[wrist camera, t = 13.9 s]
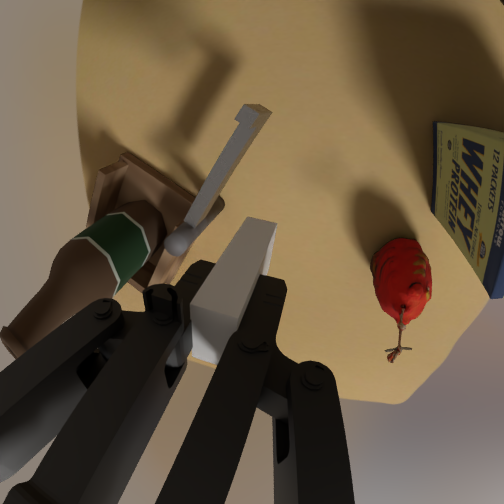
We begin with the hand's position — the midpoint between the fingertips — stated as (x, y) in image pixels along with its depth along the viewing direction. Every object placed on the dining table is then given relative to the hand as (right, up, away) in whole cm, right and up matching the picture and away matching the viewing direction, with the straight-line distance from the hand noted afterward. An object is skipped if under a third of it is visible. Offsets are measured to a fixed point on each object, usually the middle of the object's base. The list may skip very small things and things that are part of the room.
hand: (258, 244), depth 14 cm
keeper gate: (-2, +7, +8) cm, 11 cm away
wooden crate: (-13, +4, +21) cm, 26 cm away
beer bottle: (-15, +3, +21) cm, 26 cm away
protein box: (+26, +9, +7) cm, 28 cm away
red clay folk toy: (+17, -1, +16) cm, 23 cm away
